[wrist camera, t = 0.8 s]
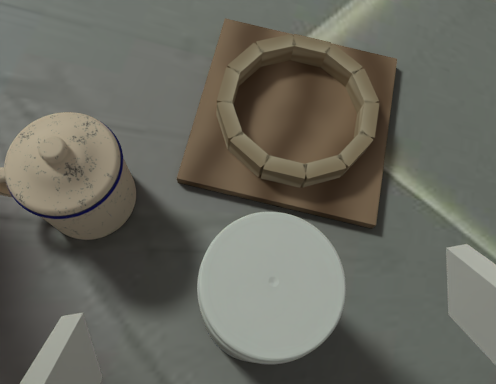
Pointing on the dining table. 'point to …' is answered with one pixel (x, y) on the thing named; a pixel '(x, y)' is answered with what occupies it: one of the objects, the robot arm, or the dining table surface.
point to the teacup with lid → (70, 175)
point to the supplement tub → (270, 288)
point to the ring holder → (292, 124)
